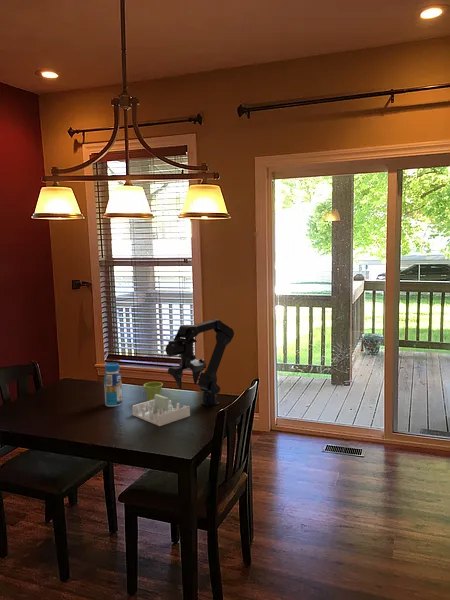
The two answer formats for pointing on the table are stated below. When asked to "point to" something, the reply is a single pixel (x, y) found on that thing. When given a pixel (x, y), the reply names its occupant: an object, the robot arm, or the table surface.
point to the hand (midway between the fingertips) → (187, 386)
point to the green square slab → (161, 402)
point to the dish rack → (160, 413)
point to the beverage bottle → (112, 385)
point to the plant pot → (153, 389)
